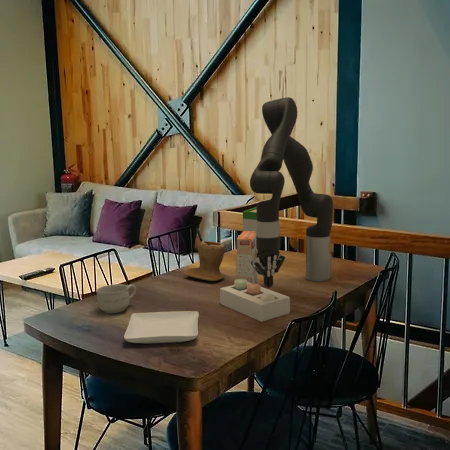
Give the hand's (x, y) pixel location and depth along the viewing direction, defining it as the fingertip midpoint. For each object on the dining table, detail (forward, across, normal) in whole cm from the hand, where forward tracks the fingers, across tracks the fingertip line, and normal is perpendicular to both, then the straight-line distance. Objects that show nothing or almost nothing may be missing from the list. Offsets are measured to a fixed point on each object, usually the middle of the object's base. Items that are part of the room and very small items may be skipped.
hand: (268, 286), depth 185 cm
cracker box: (+10, -11, -24) cm, 28 cm away
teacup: (+9, +36, -35) cm, 51 cm away
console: (+9, 0, -7) cm, 12 cm away
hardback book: (+10, -38, -49) cm, 63 cm away
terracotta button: (+4, 0, -7) cm, 8 cm away
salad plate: (+10, +35, -8) cm, 37 cm away
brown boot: (+10, -8, -46) cm, 48 cm away
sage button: (+4, 0, -14) cm, 15 cm away
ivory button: (+6, 0, 0) cm, 6 cm away
